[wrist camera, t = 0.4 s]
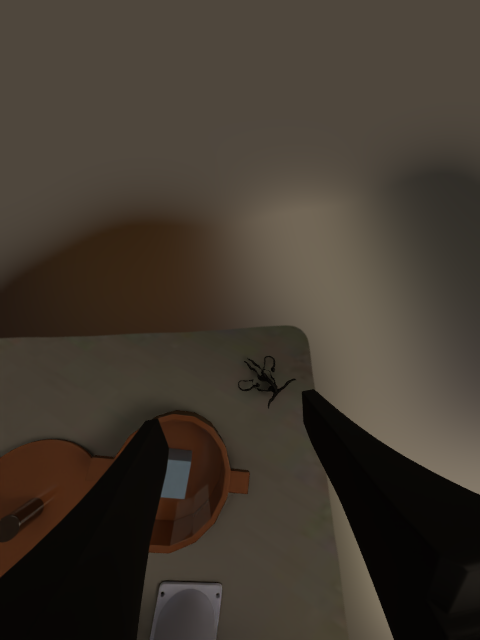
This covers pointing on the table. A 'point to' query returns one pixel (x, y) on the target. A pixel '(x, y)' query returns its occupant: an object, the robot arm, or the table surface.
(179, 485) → the block
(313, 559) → the table surface
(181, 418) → the pot
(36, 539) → the lid
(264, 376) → the creature
